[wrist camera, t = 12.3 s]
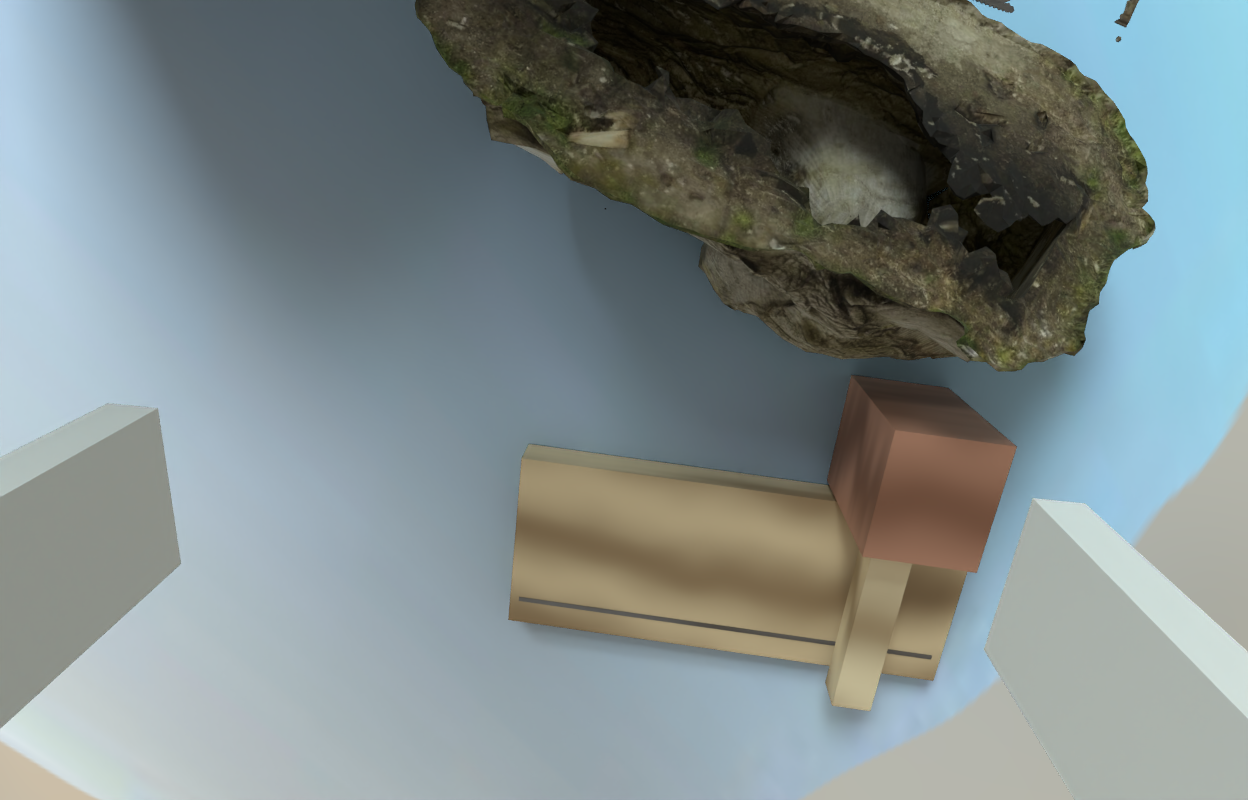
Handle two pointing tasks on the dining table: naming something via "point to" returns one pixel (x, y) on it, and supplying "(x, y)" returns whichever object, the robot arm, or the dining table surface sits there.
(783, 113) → the hollow geode rock
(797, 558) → the board
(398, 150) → the dining table surface
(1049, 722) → the robot arm
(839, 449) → the brown block with handle
